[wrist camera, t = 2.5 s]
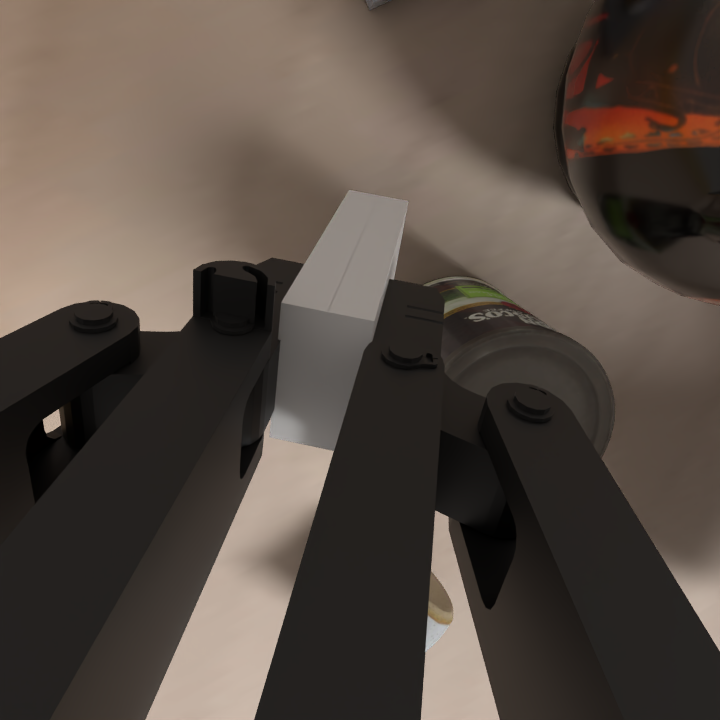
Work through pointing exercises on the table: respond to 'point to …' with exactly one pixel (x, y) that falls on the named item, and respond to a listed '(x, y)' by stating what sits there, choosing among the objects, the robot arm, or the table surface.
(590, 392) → the coffee can
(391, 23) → the table surface
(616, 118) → the brown glazed vase
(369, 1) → the grey crank mechanism
